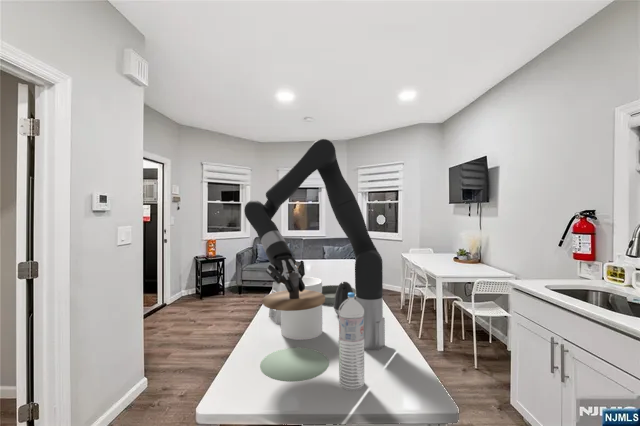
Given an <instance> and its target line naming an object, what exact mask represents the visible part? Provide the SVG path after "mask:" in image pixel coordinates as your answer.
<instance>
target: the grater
mask: <svg viewBox="0 0 640 426" xmlns="http://www.w3.org/2000/svg"><path fill="white" fill-rule="evenodd" d="M288 276H289V274H288ZM271 286H272V289H271V293H275V292H279V291H281V283H280V284H278V283H277V282H276V281H272V285H271ZM268 311H269V312H268V318H270V319H271V320H272V321H273V323H275V324H277V325H279V324H280V325H281V310H274V309H270V308H269V310H268Z"/></svg>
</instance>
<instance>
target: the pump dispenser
mask: <svg viewBox="0 0 640 426" xmlns="http://www.w3.org/2000/svg"><path fill="white" fill-rule="evenodd" d="M338 285H339V286H338V288H337V291H336V294H335V299H334V304H333V309H334V312H335V314H336V315H337V316H338V317H339V307H340V305H341V304H342V303H343V302H344V301H345V300H346V299H348V293H350V292H351V293H354V292H353V289H352V288H353V286H352V285H351V284H350V283H349V282H348V281H341V282H340V283H339V284H338ZM354 299H356V296H355V297H354Z"/></svg>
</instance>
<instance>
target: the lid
mask: <svg viewBox="0 0 640 426" xmlns="http://www.w3.org/2000/svg"><path fill="white" fill-rule="evenodd" d="M289 280H291V282H292V284H293V286H294V288H295V292H294V293H293V294H290V292H288V290H286V291H279V292H275V291H274V292H275V293H272V292H271V293H268V294H267V295H265V296H264V297H263V298H262V305H263V306H264V307H265V308H268V309H269V310H270V309H273V310H274V311H276V310H282V311H297V310H306V309H311V308H315V307H318V306H320V305H322V306H323V304H324V302H325V295H323V294H322V293H320V292H316V291H311V290H303V291H302V292H300V291H299V273H298V272H291V273H289Z"/></svg>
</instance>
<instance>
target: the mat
mask: <svg viewBox="0 0 640 426" xmlns="http://www.w3.org/2000/svg"><path fill="white" fill-rule="evenodd" d="M329 365H330V361H329V358H328V357H327V356H326V355H325V354H324V353H322V352H321V351H319V350H315V349H312V348H307V347H306V348H305V347H288V348H283V349H279V350H276V351H273V352H271V353H269V354H267V355H266V356H265V357H263V359H262V360H261V361H260V364H259V368H260V371H261V373H262V374H263V375H265V377H269V378H270V379H272V380H276V381H280V382H289V383H290V382H303V381H307V380H311V379H314V378H316V377H319V376H320V375H322V374H323V373H325V371H327V369H328V367H329Z"/></svg>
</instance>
